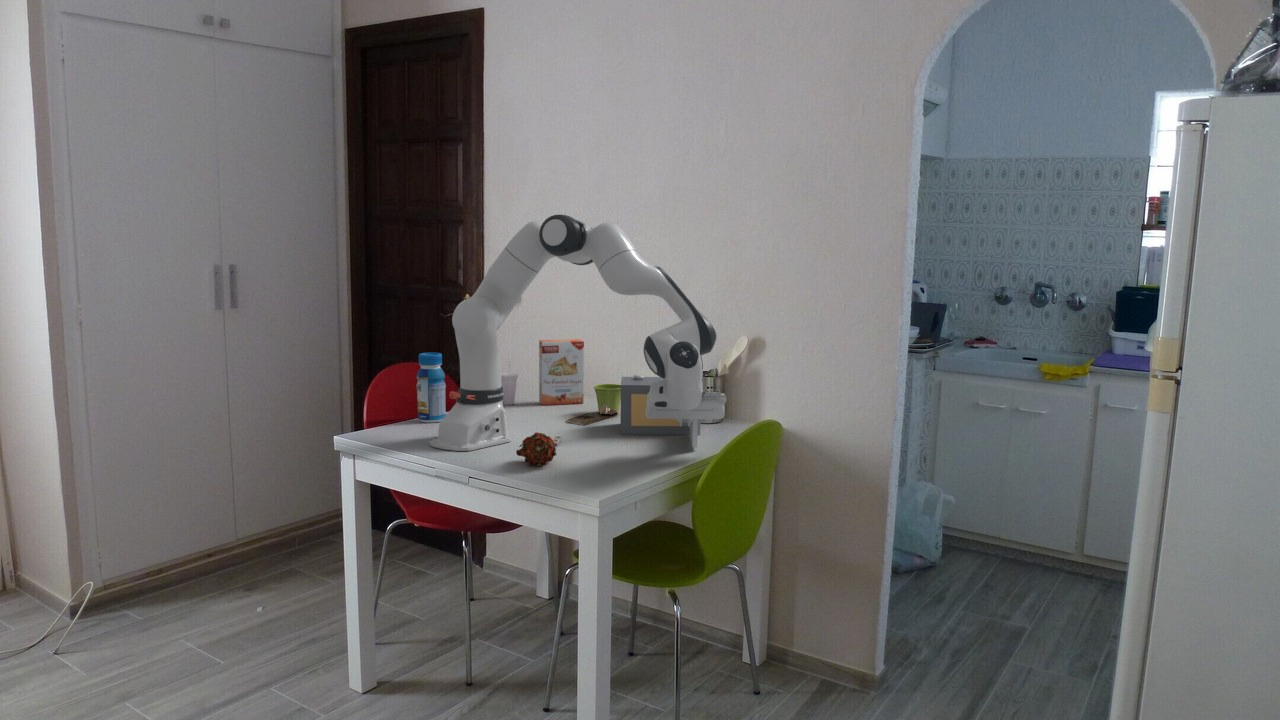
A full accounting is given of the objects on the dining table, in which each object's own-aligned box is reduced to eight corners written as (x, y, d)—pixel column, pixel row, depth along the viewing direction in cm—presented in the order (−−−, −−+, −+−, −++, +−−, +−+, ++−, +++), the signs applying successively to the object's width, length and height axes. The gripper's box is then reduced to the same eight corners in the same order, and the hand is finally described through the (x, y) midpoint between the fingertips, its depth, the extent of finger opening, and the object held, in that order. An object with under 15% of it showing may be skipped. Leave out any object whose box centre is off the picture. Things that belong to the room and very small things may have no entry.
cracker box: (541, 406, 298) (541, 341, 295) (538, 402, 304) (538, 339, 300) (584, 404, 302) (584, 340, 298) (580, 400, 307) (580, 338, 304)
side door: (697, 431, 258) (698, 389, 256) (700, 447, 240) (701, 402, 238) (690, 431, 258) (690, 389, 256) (692, 447, 240) (693, 402, 238)
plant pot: (591, 411, 290) (591, 384, 289) (620, 410, 292) (621, 383, 291) (595, 417, 281) (595, 389, 280) (626, 416, 283) (626, 388, 282)
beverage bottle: (443, 423, 271) (441, 356, 268) (414, 423, 271) (412, 355, 268) (449, 417, 280) (447, 351, 277) (421, 417, 280) (419, 351, 277)
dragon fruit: (546, 477, 221) (526, 472, 231) (570, 452, 224) (549, 449, 235) (525, 451, 218) (505, 447, 228) (550, 426, 222) (529, 424, 232)
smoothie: (517, 405, 298) (517, 362, 296) (497, 405, 298) (497, 362, 296) (519, 401, 304) (518, 359, 302) (499, 401, 304) (499, 359, 302)
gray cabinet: (691, 435, 258) (692, 382, 256) (620, 434, 258) (620, 381, 256) (689, 423, 272) (690, 373, 270) (621, 423, 273) (621, 373, 270)
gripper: (726, 382, 231) (724, 414, 242) (644, 382, 233) (647, 413, 243) (726, 403, 227) (725, 434, 238) (643, 402, 229) (646, 433, 239)
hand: (685, 424), depth 241 cm, fingers closed
